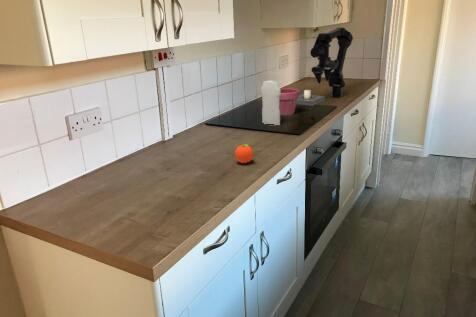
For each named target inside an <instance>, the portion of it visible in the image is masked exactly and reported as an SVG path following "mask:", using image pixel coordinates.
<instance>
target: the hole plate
mask: <svg viewBox="0 0 476 317" xmlns="http://www.w3.org/2000/svg"><path fill="white" fill-rule="evenodd" d="M325 101H326V96H323V95H315V94H311V98H310V99H304V93H301V94H299V98H297V103H296V105H304V106H311V107H312V106H315V105H317V104H320V103H323V102H325Z"/></svg>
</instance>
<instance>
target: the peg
mask: <svg viewBox="0 0 476 317" xmlns="http://www.w3.org/2000/svg"><path fill="white" fill-rule="evenodd" d="M311 91H312V90H311V89H304V90H303V94H304V99H310V98H311V95H312V93H311Z"/></svg>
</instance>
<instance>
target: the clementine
mask: <svg viewBox="0 0 476 317" xmlns="http://www.w3.org/2000/svg"><path fill="white" fill-rule="evenodd" d="M234 156H235V159H236V160H237V161H238V162H239V163H240V164H247V162H248V163H250V162H251V161H252V159H253V158H254V151H253V148H252V146H251V145H250V144H242V145H239V146H238V147H237V148H236V149H235V152H234Z"/></svg>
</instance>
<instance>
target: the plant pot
mask: <svg viewBox="0 0 476 317" xmlns="http://www.w3.org/2000/svg"><path fill="white" fill-rule="evenodd" d="M280 89H281V95H280V97H279V98H280V99H279V110H280V116H292V115H294V114H295V110H296V108H297V104H296V103H297V98H299V95H300V90H299V89H296V88H280Z"/></svg>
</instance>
